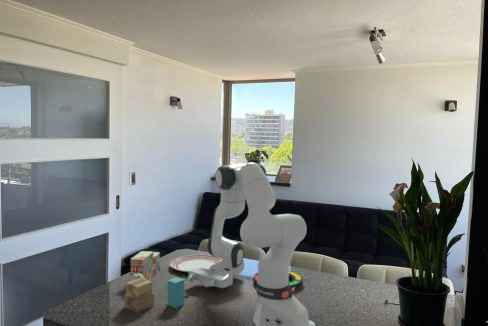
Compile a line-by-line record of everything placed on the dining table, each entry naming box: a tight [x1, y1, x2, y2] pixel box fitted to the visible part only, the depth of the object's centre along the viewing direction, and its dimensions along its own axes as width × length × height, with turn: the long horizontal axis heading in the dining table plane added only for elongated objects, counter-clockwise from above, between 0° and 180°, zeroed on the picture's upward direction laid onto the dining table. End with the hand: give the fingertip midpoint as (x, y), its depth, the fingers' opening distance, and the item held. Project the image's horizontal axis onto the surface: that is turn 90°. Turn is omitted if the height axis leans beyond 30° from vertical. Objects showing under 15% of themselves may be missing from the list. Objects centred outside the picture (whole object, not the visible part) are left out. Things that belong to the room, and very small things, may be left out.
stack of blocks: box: [130, 250, 161, 281], centre depth 180 cm, size 21×6×12 cm, turn 172°
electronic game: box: [252, 270, 304, 289], centre depth 174 cm, size 23×23×5 cm
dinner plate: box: [169, 253, 222, 274], centre depth 195 cm, size 28×27×3 cm
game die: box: [128, 272, 145, 282], centre depth 163 cm, size 9×8×10 cm
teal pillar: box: [167, 277, 185, 309], centre depth 150 cm, size 4×4×10 cm
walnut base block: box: [123, 292, 155, 314], centre depth 148 cm, size 8×8×5 cm
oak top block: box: [125, 278, 153, 300], centre depth 147 cm, size 7×7×5 cm
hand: (196, 282), depth 159 cm, fingers open, 8 cm apart
